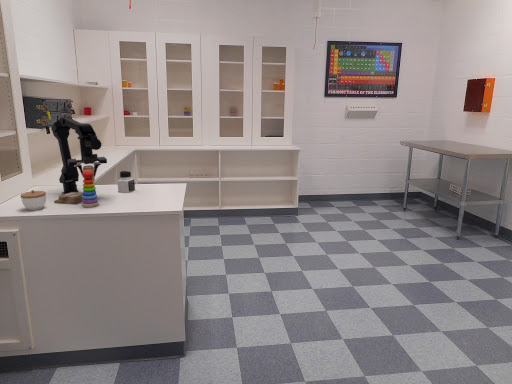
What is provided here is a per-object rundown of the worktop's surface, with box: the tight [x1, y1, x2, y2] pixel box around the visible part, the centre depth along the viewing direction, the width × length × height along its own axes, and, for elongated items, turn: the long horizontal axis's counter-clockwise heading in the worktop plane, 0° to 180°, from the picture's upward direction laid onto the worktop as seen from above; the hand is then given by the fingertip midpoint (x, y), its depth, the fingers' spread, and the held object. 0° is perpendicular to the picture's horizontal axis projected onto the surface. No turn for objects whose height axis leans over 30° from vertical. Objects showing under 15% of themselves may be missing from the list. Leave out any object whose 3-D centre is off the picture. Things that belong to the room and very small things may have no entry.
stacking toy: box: [81, 170, 100, 208], centre depth 189 cm, size 8×8×19 cm
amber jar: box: [82, 164, 96, 182], centre depth 201 cm, size 5×5×8 cm
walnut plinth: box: [53, 191, 83, 205], centre depth 201 cm, size 13×13×3 cm
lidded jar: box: [20, 189, 47, 211], centre depth 185 cm, size 11×11×9 cm
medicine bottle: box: [116, 170, 136, 194], centre depth 220 cm, size 7×7×12 cm
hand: (89, 176), depth 202 cm, fingers closed on amber jar, 5 cm apart
